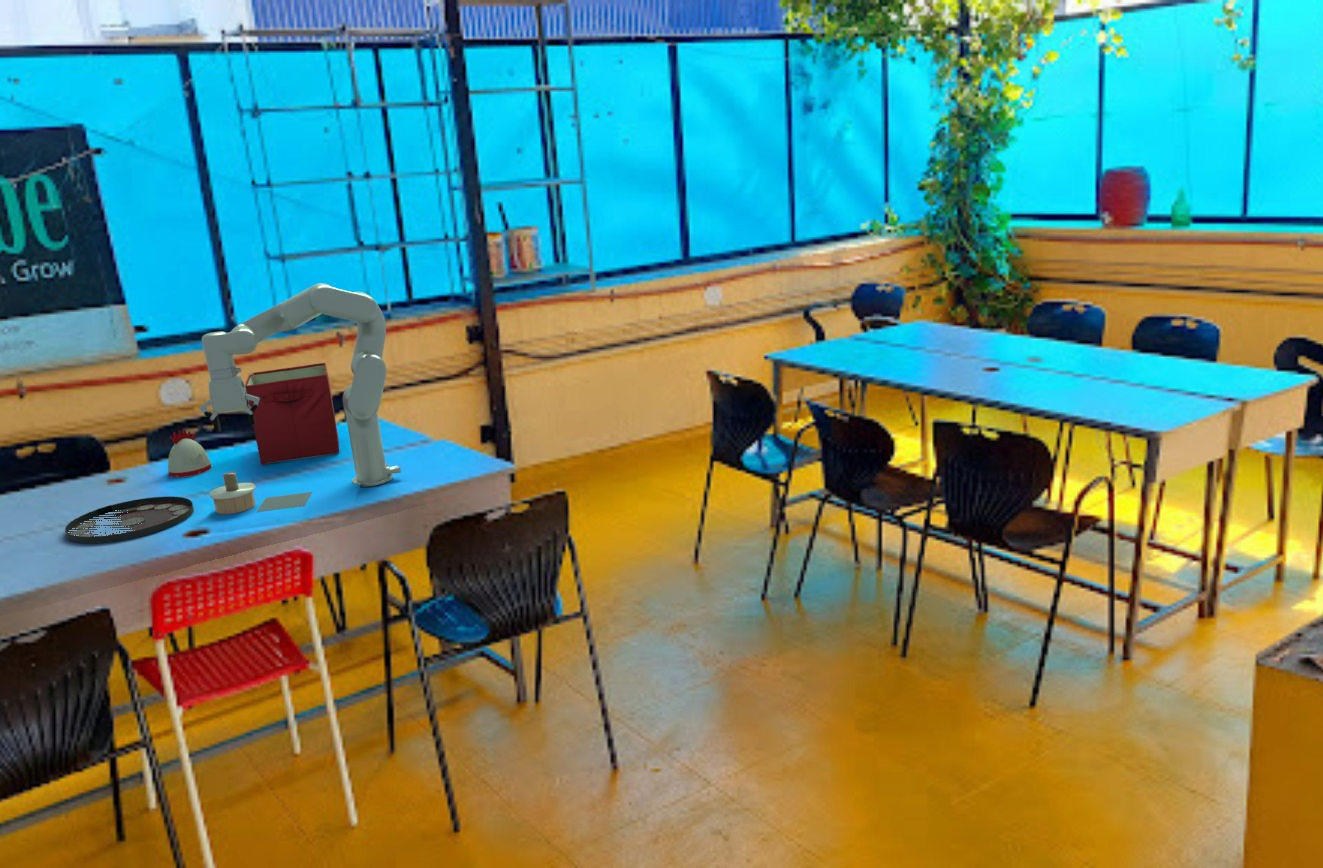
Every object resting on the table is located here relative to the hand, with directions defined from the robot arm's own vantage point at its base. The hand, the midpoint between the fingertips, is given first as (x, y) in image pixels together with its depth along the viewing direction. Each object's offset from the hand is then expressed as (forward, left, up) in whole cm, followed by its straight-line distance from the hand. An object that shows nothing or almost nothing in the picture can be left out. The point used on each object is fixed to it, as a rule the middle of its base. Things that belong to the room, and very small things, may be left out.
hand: (235, 429), depth 331 cm
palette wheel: (+34, +2, -25) cm, 42 cm away
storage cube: (-5, -61, -25) cm, 66 cm away
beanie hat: (+31, -52, -25) cm, 65 cm away
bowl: (+3, +4, -24) cm, 25 cm away
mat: (-11, +4, -24) cm, 27 cm away
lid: (+3, +4, -18) cm, 19 cm away
